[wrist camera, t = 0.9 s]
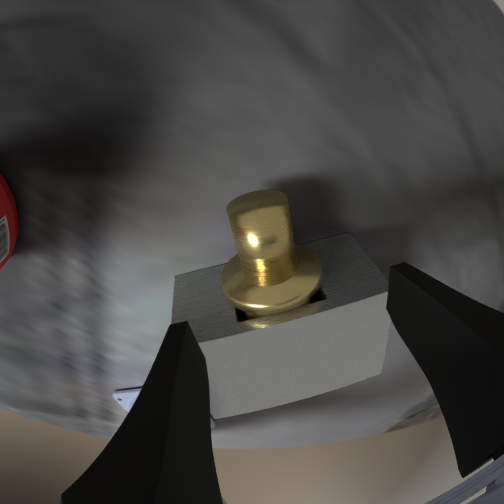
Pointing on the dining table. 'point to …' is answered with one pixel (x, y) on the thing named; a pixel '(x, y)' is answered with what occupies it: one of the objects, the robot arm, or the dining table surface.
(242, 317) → the housing
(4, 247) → the canned food
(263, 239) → the brass flanged cylinder
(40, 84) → the dining table surface
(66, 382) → the dining table surface
